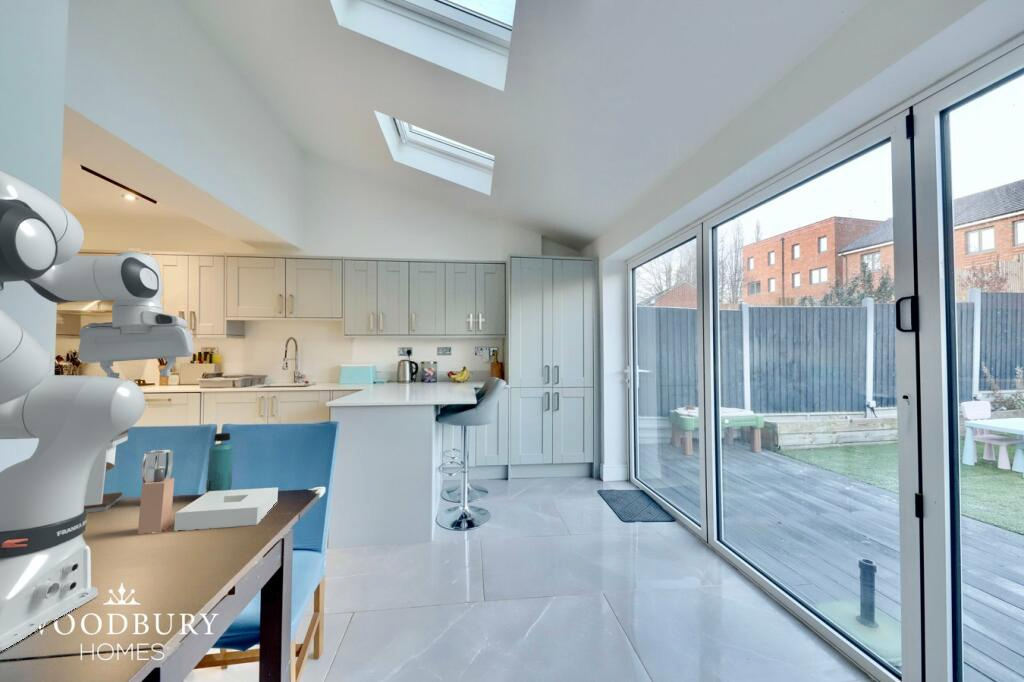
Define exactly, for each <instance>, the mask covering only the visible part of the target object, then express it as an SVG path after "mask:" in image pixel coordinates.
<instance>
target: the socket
mask: <svg viewBox="0 0 1024 682" xmlns="http://www.w3.org/2000/svg"><path fill="white" fill-rule="evenodd" d="M278 494H279V487H264V488H245V489H243V488H242V489H231V490H224V491H209V492H208V493H206V492H205V494H203V495H201V496H200V497H198V498H197V499H195V500H194V501H192V502H190V503H189V504H187V505H186V506H184V507H183V508H180V509H179V510H178V511H175V516H174V517H175V518H174V525H173V526H174V529H173V531H174V532H179V531H178V530H186V531H196V530H195V529H199V530H208V529H209V530H210V528H211V529H221V528H235V527H246V526H247V527H248V526H257V525H258V524H259V523H260V522H261V521H262V520H261V519H264V518H265V516H267V515H268V513H269V512H270V511H271V510H272V509H273V508H274V507H273V505H274V504H275V503H276V502H277V503H278V496H279V495H278ZM277 503H276V504H277ZM276 504H275V505H276ZM275 505H274V506H275ZM272 507H273V508H272ZM271 508H272V509H271ZM270 509H271V510H270ZM269 510H270V511H269ZM268 511H269V512H268ZM267 512H268V513H267Z"/></svg>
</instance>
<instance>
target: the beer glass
mask: <svg viewBox="0 0 1024 682" xmlns="http://www.w3.org/2000/svg"><path fill="white" fill-rule="evenodd" d="M173 463H174V450H173V449H157V450H150V451H146V452H143V457H142V463H141V482H142V484H144V483H146V482H148V481H151V480H153V479H154V471H155V469H158V468H165V477H164V479H169V478H171V474H172V471H173V465H174V464H173ZM140 504H141V502H140ZM140 504H139V505H140Z"/></svg>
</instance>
